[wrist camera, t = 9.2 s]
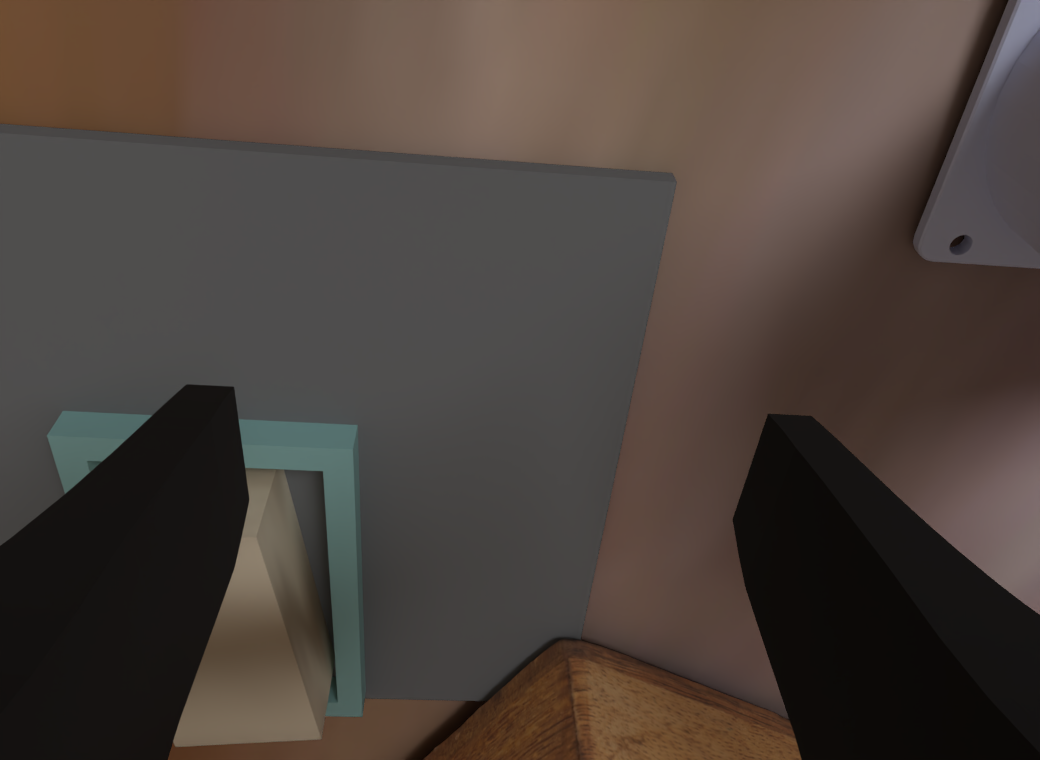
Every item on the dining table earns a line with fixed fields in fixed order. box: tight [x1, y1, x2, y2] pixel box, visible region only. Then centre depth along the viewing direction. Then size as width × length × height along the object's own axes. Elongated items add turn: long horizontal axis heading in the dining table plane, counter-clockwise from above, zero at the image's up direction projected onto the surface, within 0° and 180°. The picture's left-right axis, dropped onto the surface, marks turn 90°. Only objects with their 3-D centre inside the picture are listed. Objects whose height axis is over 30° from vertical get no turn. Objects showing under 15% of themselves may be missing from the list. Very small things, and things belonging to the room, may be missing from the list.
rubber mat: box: [0, 124, 677, 701], centre depth 24 cm, size 18×20×1 cm
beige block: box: [173, 468, 335, 747], centre depth 25 cm, size 9×4×3 cm, turn 2°
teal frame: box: [47, 411, 366, 717], centre depth 26 cm, size 8×12×1 cm, turn 175°
